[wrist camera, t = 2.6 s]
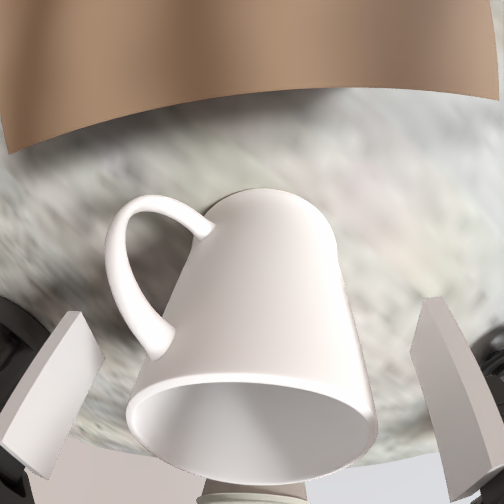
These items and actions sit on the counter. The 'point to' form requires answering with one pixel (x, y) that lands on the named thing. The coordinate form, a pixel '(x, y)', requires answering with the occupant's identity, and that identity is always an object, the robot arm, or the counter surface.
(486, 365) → the milk frother
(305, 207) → the mug
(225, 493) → the coffee cup
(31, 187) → the counter surface
